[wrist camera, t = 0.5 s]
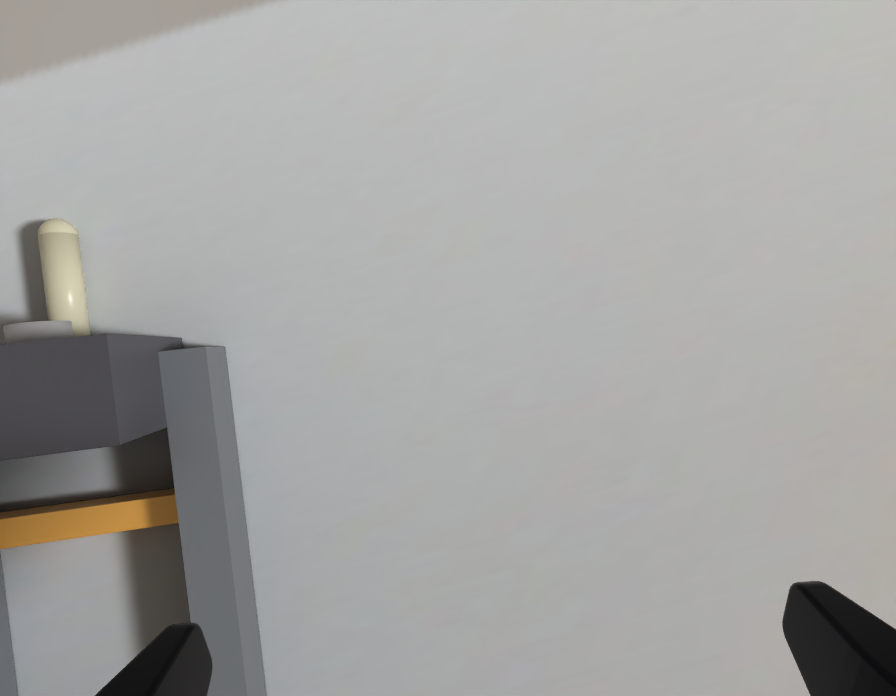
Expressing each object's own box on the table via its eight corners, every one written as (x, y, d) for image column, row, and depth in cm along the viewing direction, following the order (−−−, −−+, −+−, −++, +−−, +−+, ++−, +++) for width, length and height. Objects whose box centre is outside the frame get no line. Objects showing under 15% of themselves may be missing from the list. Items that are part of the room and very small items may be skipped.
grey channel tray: (287, 871, 22) (254, 1068, 16) (1, 935, 20) (-152, 1176, 14) (208, 211, 21) (145, 157, 15) (-87, 234, 20) (-282, 186, 14)
